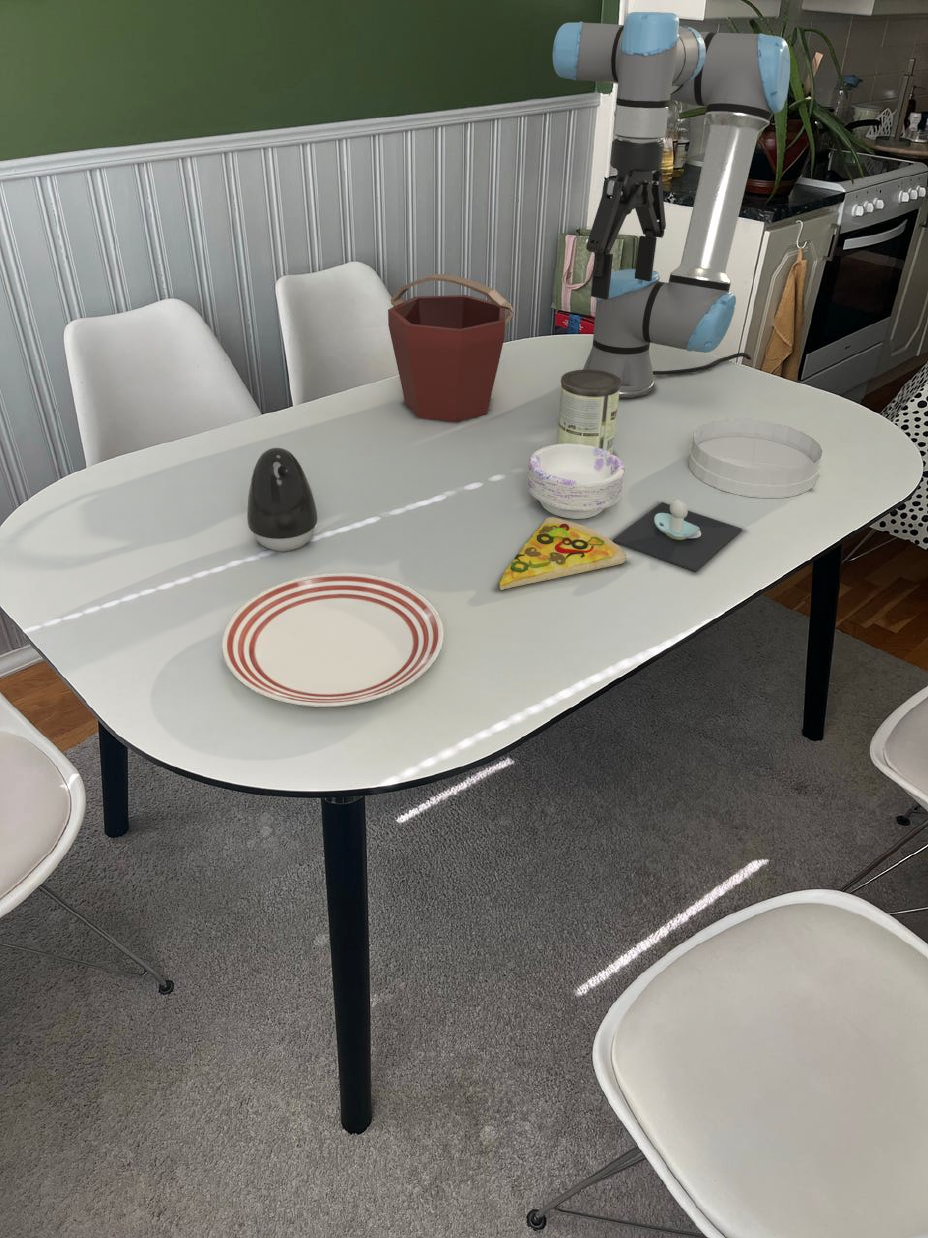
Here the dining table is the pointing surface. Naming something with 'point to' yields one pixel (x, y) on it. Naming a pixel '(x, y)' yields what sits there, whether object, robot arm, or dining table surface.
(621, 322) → the robot arm
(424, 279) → the bucket
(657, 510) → the placemat
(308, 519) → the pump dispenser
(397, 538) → the dining table surface
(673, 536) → the pacifier
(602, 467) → the paper bowls
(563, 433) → the coffee can
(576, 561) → the pizza slice
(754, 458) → the dish
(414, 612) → the dinner plate
